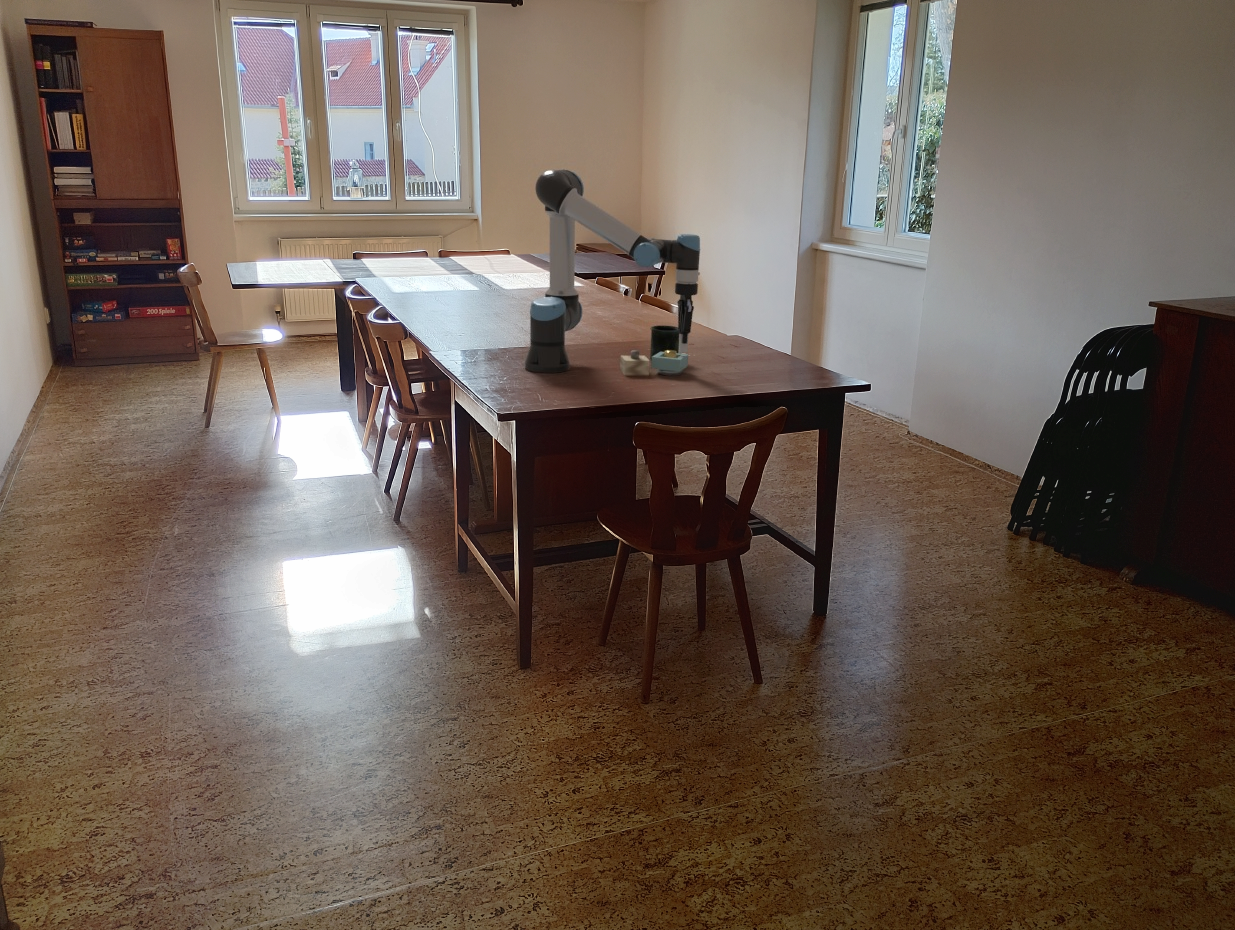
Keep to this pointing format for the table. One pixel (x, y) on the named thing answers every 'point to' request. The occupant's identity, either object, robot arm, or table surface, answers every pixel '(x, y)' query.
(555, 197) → the robot arm
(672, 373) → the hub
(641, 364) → the stand
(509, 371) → the table surface
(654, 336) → the mug
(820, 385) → the table surface
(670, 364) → the teal square ring
